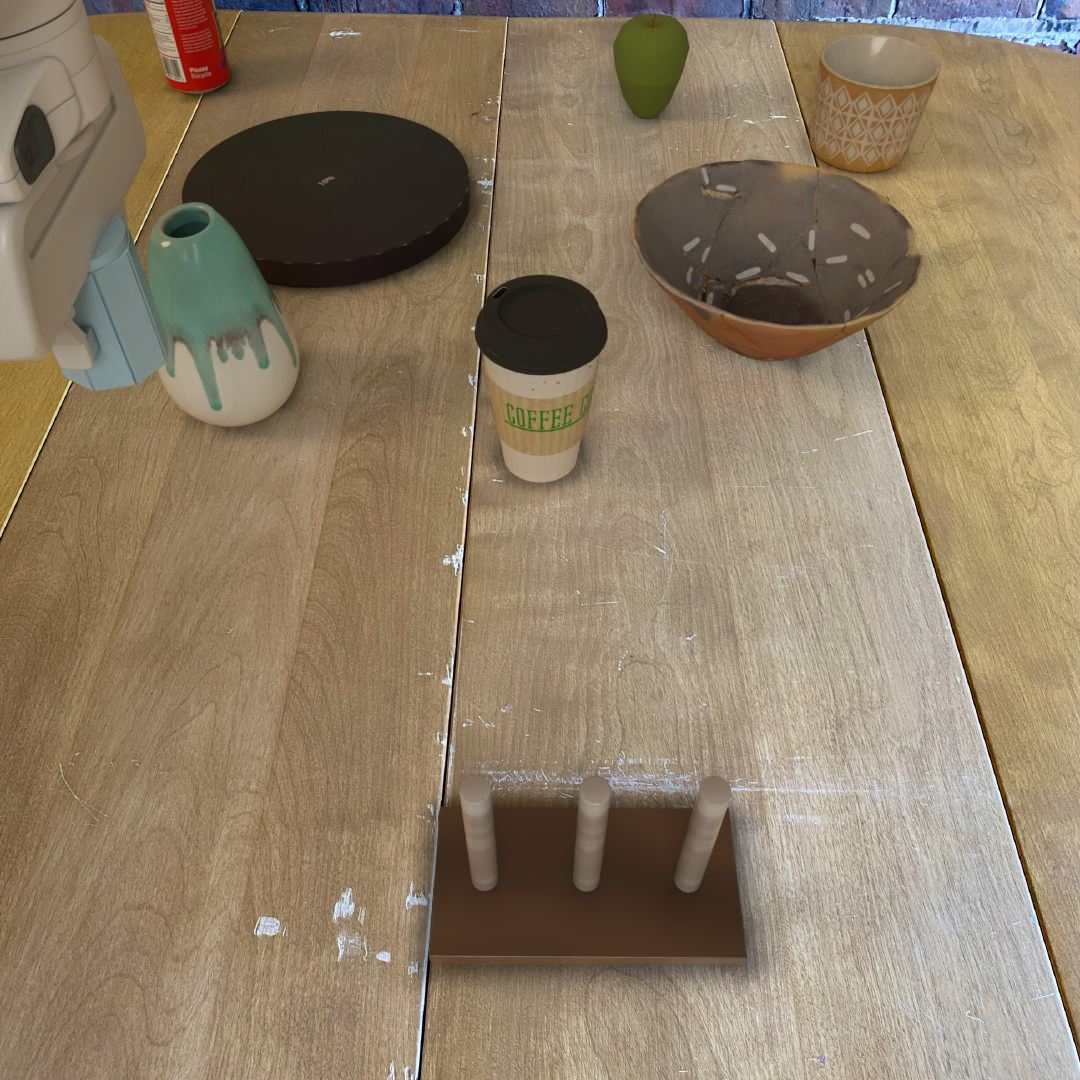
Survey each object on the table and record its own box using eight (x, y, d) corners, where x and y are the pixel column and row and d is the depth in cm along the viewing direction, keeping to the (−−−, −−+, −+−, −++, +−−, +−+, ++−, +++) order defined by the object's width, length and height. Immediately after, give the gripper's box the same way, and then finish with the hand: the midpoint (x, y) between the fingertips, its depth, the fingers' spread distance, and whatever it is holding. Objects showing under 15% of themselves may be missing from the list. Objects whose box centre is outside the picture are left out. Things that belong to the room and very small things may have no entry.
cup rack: (743, 966, 57) (789, 880, 46) (430, 964, 57) (406, 877, 47) (725, 818, 63) (763, 711, 52) (441, 816, 63) (422, 709, 52)
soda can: (162, 99, 121) (122, -33, 110) (176, 69, 126) (140, -61, 115) (226, 99, 121) (193, -34, 110) (238, 69, 126) (207, -61, 115)
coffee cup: (558, 517, 79) (562, 372, 67) (458, 467, 82) (445, 322, 70) (620, 443, 84) (634, 297, 72) (524, 399, 87) (522, 254, 76)
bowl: (593, 267, 100) (598, 176, 92) (819, 232, 104) (842, 142, 96) (677, 438, 84) (691, 346, 77) (939, 389, 88) (977, 297, 80)
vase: (176, 456, 83) (104, 276, 69) (171, 367, 90) (104, 188, 76) (315, 430, 85) (272, 250, 71) (299, 346, 92) (257, 167, 78)
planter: (816, 114, 119) (836, 24, 111) (922, 137, 116) (950, 46, 108) (787, 165, 112) (807, 72, 104) (899, 190, 109) (928, 97, 101)
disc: (293, 112, 119) (289, 87, 117) (517, 169, 111) (516, 143, 109) (129, 242, 102) (119, 216, 100) (379, 321, 94) (375, 295, 92)
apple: (673, 94, 123) (683, -5, 114) (688, 128, 117) (701, 27, 108) (604, 98, 122) (609, -1, 113) (616, 133, 116) (623, 32, 108)
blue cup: (62, 397, 55) (3, 276, 49) (67, 333, 59) (13, 213, 53) (168, 380, 56) (124, 259, 50) (167, 319, 60) (125, 199, 54)
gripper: (8, -21, 52) (97, 216, 62) (-171, 189, 38) (-20, 444, 49) (129, -20, 52) (197, 216, 62) (-8, 189, 39) (108, 444, 49)
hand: (101, 319), depth 56 cm, fingers closed on blue cup, 6 cm apart
